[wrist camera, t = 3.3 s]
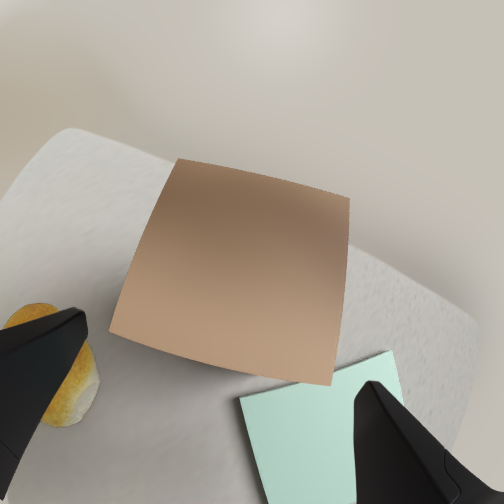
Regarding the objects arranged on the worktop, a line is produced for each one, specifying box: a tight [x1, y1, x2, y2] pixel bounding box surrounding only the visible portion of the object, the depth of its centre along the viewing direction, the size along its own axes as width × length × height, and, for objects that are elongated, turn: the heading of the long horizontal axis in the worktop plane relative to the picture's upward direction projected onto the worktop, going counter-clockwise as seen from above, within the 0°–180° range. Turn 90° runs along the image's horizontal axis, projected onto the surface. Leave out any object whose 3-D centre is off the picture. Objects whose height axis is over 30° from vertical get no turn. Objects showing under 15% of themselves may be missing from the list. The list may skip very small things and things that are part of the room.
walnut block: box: [108, 159, 350, 386], centre depth 12 cm, size 5×5×12 cm
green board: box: [239, 350, 404, 504], centre depth 14 cm, size 11×11×1 cm
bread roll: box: [4, 303, 100, 427], centre depth 13 cm, size 8×9×4 cm
